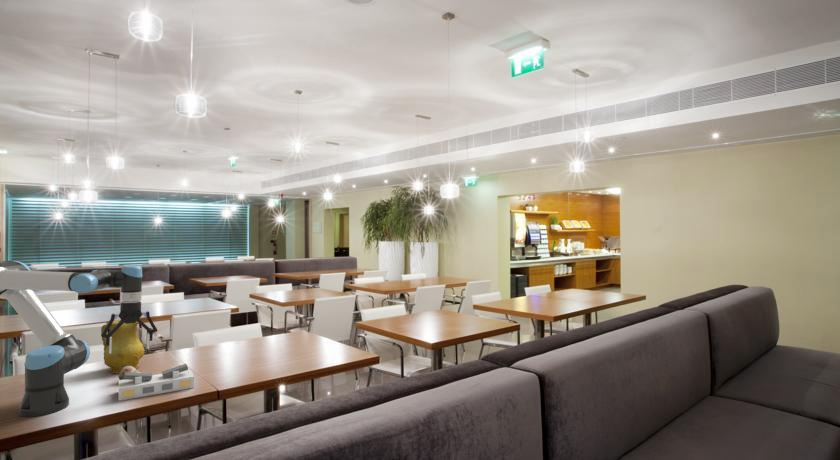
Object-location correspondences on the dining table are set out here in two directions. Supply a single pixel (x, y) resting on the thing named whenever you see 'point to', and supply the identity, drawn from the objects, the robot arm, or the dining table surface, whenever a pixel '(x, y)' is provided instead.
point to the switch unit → (155, 385)
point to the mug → (127, 369)
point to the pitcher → (123, 347)
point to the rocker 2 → (170, 371)
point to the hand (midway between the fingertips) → (129, 350)
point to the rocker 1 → (132, 376)
